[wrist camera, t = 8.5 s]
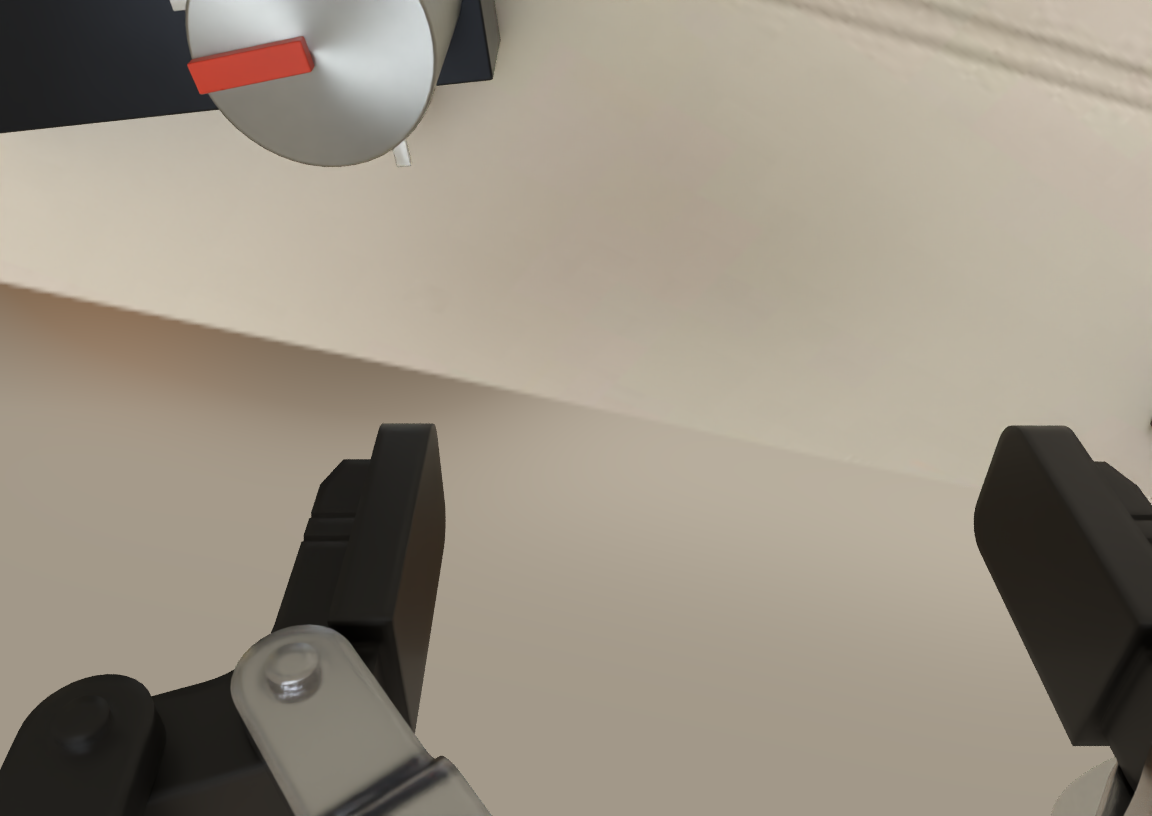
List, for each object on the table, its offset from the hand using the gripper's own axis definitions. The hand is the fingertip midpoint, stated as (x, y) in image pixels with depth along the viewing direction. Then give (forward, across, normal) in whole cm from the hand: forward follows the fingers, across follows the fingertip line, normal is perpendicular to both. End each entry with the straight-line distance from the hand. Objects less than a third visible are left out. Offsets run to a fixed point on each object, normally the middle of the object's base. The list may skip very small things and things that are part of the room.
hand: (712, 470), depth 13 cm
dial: (+12, +7, -4) cm, 14 cm away
